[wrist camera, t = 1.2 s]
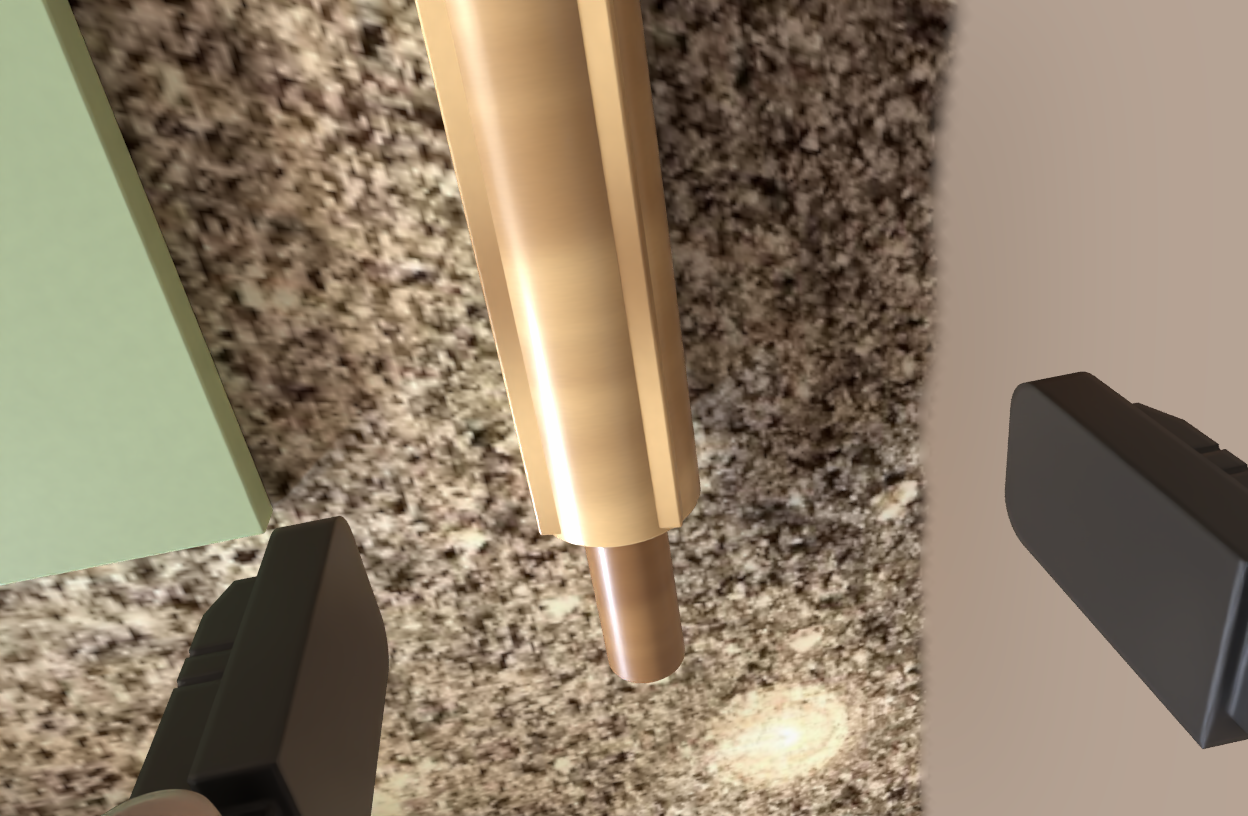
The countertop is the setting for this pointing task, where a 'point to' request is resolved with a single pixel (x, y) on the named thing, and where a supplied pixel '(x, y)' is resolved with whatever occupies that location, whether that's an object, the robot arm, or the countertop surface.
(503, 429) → the countertop surface
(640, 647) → the rolling pin
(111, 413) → the pastry board
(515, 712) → the countertop surface
